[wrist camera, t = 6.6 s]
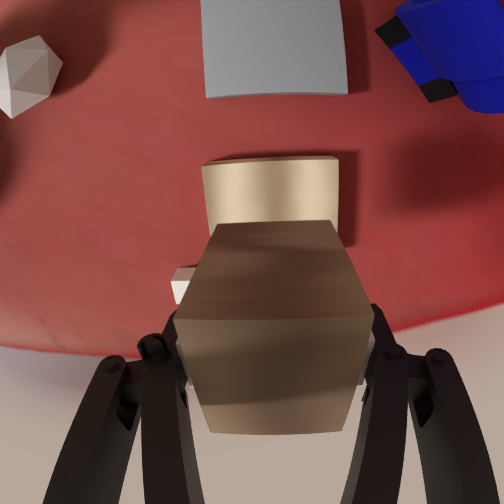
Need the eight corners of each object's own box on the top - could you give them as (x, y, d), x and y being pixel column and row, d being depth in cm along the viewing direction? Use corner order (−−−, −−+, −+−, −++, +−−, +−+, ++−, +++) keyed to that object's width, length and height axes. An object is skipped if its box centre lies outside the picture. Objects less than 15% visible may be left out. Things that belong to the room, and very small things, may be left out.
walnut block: (230, 325, 19) (210, 432, 12) (217, 223, 16) (172, 319, 8) (323, 323, 18) (341, 431, 11) (330, 219, 15) (374, 314, 8)
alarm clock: (435, -14, 16) (514, -55, 2) (496, 73, 19) (589, 79, 6) (368, 25, 20) (444, -32, 6) (440, 121, 23) (544, 144, 10)
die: (55, 29, 20) (-19, 53, 14) (75, 30, 18) (-19, 60, 12) (54, 88, 27) (-13, 115, 20) (75, 103, 24) (-8, 138, 18)
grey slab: (212, 99, 25) (206, 97, 22) (207, 9, 20) (200, -1, 18) (340, 96, 24) (347, 93, 21) (332, 5, 20) (338, -6, 17)
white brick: (183, 289, 34) (176, 304, 31) (178, 266, 33) (170, 281, 30) (233, 288, 34) (229, 304, 31) (230, 265, 32) (226, 280, 30)
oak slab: (219, 253, 32) (214, 266, 29) (208, 161, 28) (201, 166, 25) (330, 248, 31) (335, 261, 28) (331, 155, 27) (338, 159, 24)
